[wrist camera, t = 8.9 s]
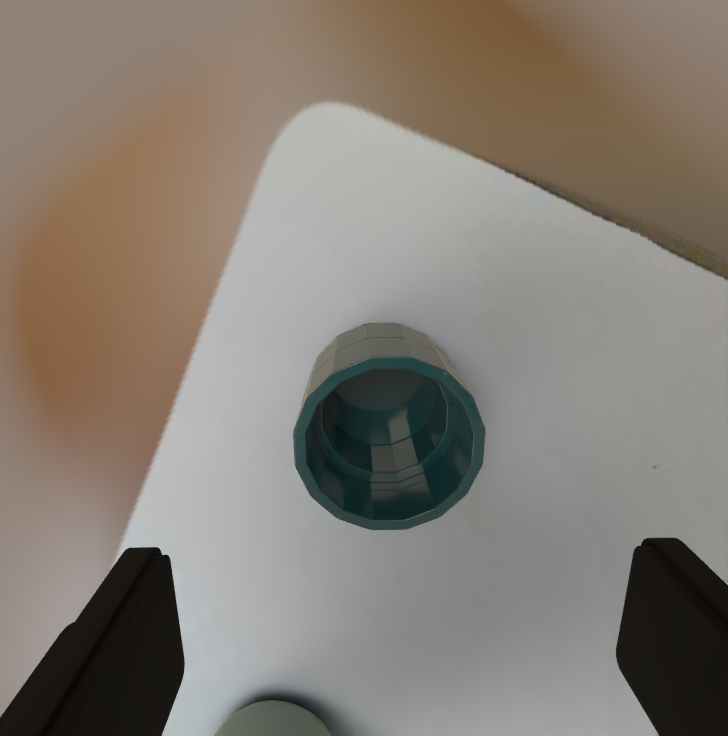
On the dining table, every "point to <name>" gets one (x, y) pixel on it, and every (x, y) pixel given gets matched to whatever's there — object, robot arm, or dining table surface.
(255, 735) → the cup
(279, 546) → the dining table surface
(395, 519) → the teal hollow faceted cylinder
